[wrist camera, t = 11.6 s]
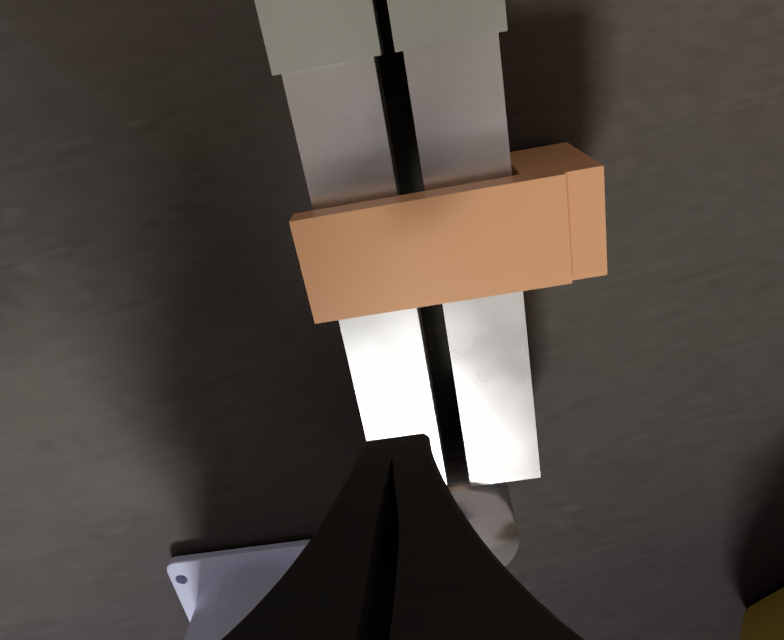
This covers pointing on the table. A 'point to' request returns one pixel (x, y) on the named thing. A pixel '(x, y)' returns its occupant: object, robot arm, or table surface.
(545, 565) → the table surface
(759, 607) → the flower pot
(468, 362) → the tongs lower arm
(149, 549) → the table surface
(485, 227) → the block
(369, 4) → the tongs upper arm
